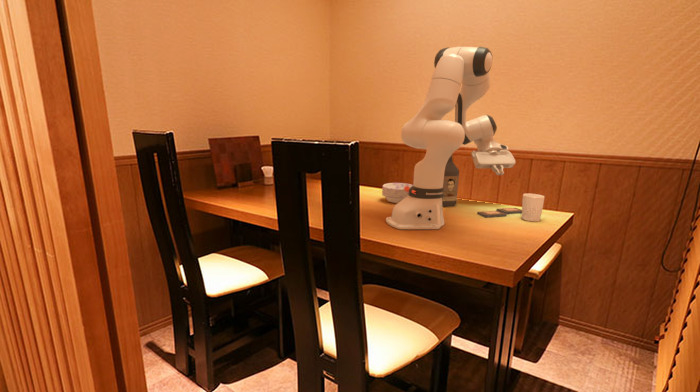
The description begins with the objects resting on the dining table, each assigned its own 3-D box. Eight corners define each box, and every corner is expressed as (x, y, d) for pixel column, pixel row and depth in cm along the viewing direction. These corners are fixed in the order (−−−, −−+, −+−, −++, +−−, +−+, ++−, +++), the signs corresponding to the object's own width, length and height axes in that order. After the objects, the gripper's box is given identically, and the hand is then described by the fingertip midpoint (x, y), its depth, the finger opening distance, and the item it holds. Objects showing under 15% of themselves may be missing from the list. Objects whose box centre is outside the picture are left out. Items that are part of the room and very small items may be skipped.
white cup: (543, 222, 147) (547, 198, 145) (522, 221, 148) (525, 196, 146) (538, 217, 154) (541, 194, 152) (518, 216, 156) (520, 193, 154)
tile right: (505, 214, 158) (505, 211, 158) (496, 210, 164) (496, 208, 164) (524, 213, 161) (525, 210, 161) (515, 209, 167) (515, 207, 166)
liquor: (431, 202, 176) (435, 139, 170) (448, 202, 178) (453, 139, 172) (440, 207, 168) (445, 140, 161) (458, 206, 170) (464, 141, 164)
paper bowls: (378, 203, 173) (379, 186, 171) (385, 197, 187) (386, 181, 186) (411, 206, 169) (412, 189, 167) (415, 199, 183) (416, 183, 181)
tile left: (485, 217, 152) (486, 214, 152) (477, 214, 158) (477, 211, 157) (506, 216, 155) (506, 213, 155) (496, 212, 160) (497, 210, 160)
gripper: (473, 146, 169) (484, 170, 162) (510, 146, 175) (523, 169, 168) (466, 155, 174) (477, 179, 167) (503, 154, 180) (515, 177, 173)
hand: (500, 174), depth 168 cm, fingers closed
